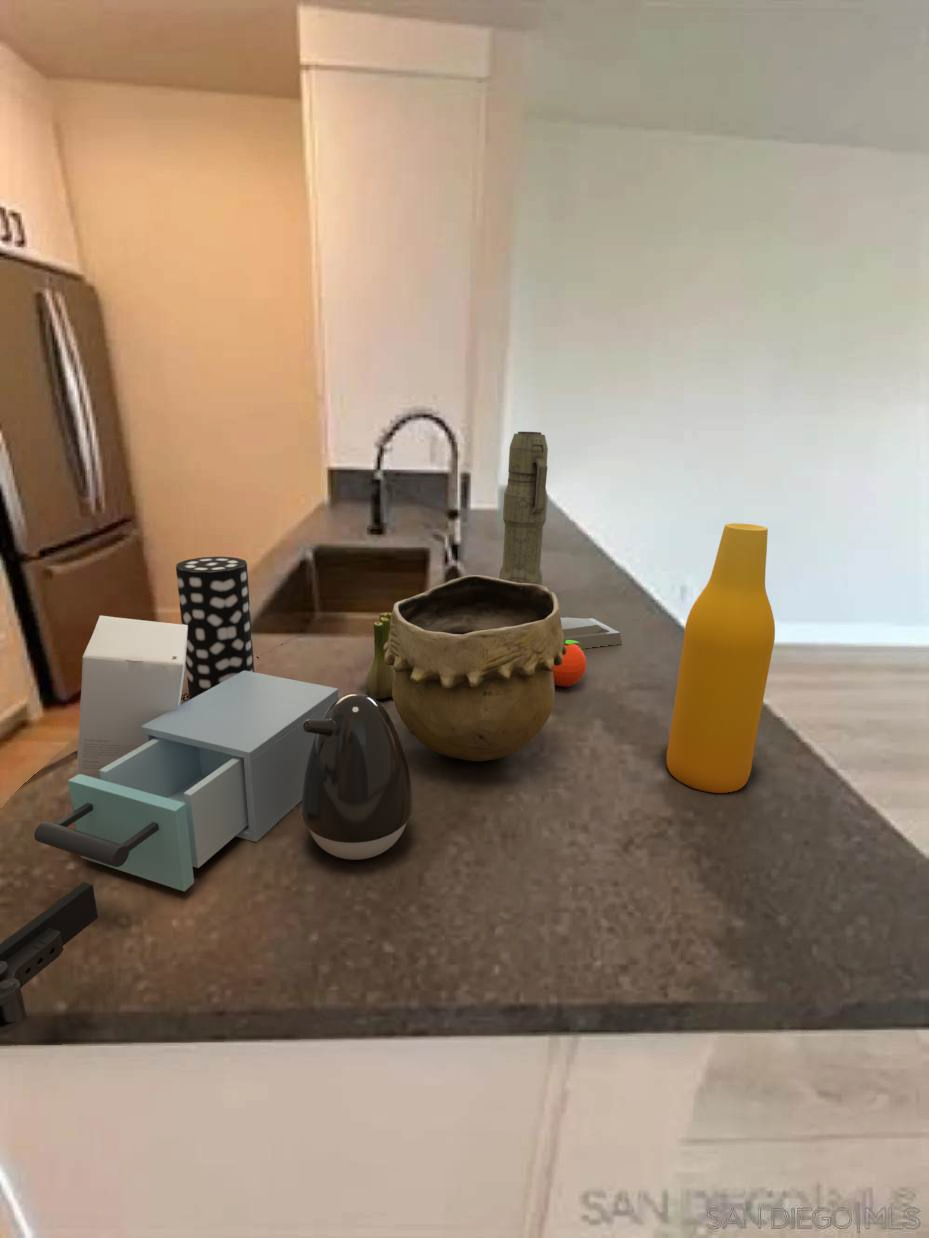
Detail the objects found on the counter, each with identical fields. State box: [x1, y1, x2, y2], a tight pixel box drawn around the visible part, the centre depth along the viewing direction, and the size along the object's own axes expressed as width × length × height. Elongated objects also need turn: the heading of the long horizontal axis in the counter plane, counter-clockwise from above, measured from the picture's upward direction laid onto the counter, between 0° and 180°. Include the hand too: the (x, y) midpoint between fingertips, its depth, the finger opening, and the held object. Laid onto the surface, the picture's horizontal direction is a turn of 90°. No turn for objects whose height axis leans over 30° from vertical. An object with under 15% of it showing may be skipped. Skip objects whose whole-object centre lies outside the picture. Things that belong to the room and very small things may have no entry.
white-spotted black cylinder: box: [175, 556, 255, 701], centre depth 87 cm, size 8×8×20 cm
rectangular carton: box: [75, 614, 188, 780], centre depth 71 cm, size 9×9×15 cm
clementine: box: [553, 640, 587, 687], centre depth 101 cm, size 8×7×7 cm
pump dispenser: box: [301, 692, 413, 861], centre depth 62 cm, size 10×10×15 cm
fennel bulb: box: [365, 612, 395, 700], centre depth 94 cm, size 6×5×12 cm
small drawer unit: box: [141, 670, 340, 843], centre depth 71 cm, size 16×13×10 cm
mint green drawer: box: [33, 737, 249, 892], centre depth 61 cm, size 19×11×8 cm, turn 160°
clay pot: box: [384, 574, 567, 762], centre depth 79 cm, size 21×21×20 cm
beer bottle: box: [666, 522, 776, 794], centre depth 74 cm, size 9×9×29 cm
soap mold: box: [560, 617, 623, 650], centre depth 120 cm, size 10×20×4 cm, turn 113°
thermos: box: [499, 431, 549, 586], centre depth 138 cm, size 9×12×35 cm
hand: (18, 873), depth 48 cm, fingers open, 13 cm apart
